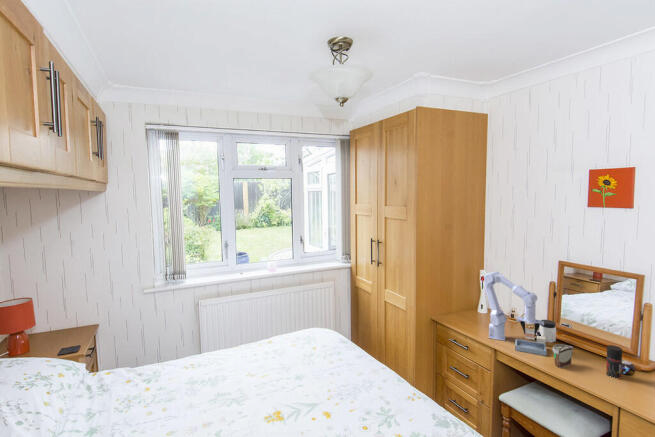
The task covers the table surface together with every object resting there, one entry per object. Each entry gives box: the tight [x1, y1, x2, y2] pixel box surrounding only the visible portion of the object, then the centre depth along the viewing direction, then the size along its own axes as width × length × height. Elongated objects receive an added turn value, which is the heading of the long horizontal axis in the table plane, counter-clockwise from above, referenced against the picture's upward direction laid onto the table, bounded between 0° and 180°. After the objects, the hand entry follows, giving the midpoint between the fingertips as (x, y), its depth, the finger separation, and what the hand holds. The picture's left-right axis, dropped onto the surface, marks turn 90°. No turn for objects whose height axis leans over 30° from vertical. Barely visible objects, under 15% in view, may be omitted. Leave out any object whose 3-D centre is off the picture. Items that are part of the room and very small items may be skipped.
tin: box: [524, 327, 536, 340], centre depth 205 cm, size 5×5×4 cm
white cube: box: [536, 335, 546, 345], centre depth 210 cm, size 4×4×4 cm
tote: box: [514, 338, 547, 357], centre depth 204 cm, size 16×11×3 cm
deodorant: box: [605, 344, 623, 379], centre depth 173 cm, size 6×6×15 cm
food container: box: [551, 343, 574, 369], centre depth 186 cm, size 12×6×10 cm, turn 111°
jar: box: [538, 319, 557, 343], centre depth 216 cm, size 9×8×12 cm
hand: (529, 334), depth 205 cm, fingers closed on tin, 5 cm apart
